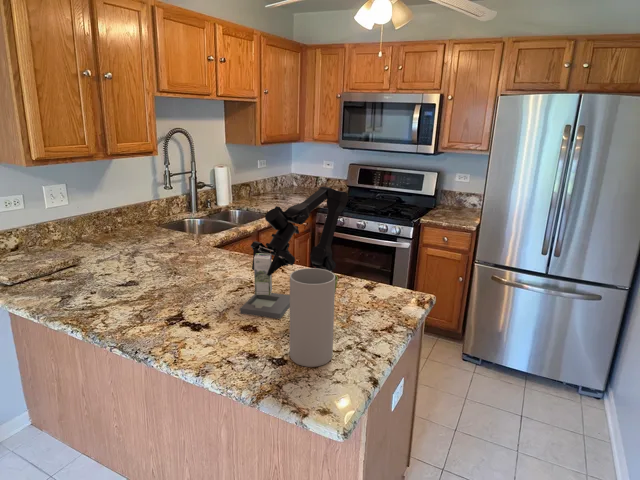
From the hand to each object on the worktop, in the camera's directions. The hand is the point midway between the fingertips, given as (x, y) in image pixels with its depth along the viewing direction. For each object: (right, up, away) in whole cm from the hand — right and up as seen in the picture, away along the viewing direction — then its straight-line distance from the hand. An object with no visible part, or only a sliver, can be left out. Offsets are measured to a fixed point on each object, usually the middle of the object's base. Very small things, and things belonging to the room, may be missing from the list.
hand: (260, 272), depth 152 cm
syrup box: (+1, -8, +4) cm, 9 cm away
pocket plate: (+2, -13, +4) cm, 13 cm away
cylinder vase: (+19, -22, -28) cm, 40 cm away
